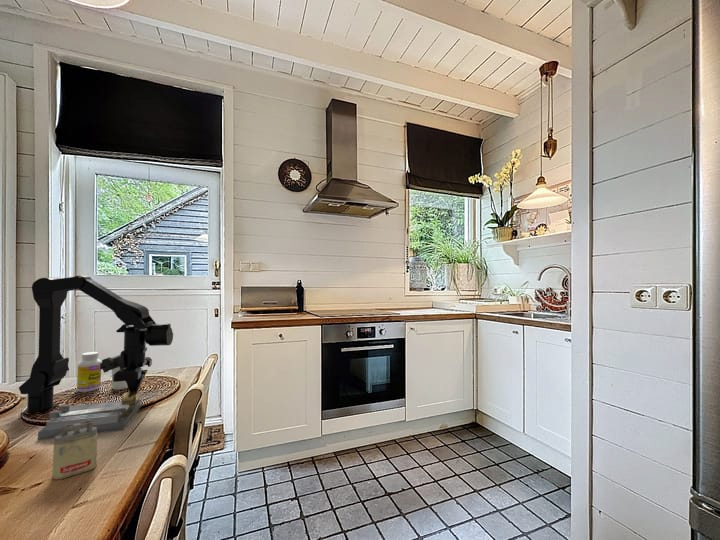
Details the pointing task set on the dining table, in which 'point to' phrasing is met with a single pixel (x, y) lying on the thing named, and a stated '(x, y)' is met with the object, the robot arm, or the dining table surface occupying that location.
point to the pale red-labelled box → (75, 450)
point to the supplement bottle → (89, 372)
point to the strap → (95, 411)
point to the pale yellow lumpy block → (130, 398)
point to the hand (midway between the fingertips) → (133, 395)
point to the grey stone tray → (100, 421)
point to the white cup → (121, 383)
